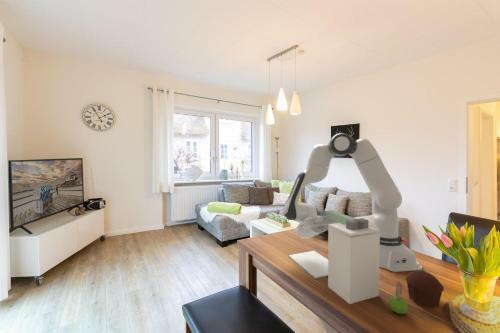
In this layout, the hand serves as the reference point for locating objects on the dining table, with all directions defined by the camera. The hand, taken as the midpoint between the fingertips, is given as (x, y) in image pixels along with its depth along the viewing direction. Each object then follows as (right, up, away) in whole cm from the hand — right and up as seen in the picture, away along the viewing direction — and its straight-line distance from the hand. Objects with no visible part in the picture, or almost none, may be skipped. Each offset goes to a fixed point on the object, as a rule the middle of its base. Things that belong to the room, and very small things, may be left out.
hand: (332, 216), depth 103 cm
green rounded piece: (+14, -28, -23) cm, 39 cm away
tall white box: (+4, -27, -10) cm, 29 cm away
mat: (-4, -26, +13) cm, 30 cm away
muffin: (+28, -28, -16) cm, 43 cm away
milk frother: (+14, -24, +53) cm, 60 cm away
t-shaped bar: (+2, -1, -6) cm, 7 cm away
